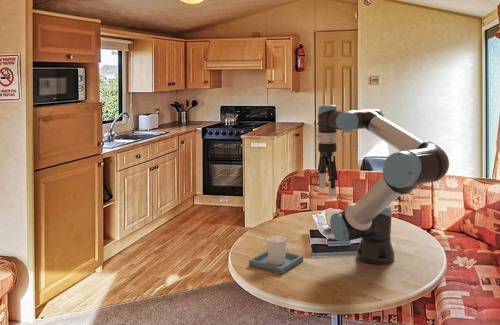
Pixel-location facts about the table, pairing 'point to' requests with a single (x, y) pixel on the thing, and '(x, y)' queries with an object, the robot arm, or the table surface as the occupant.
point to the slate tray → (263, 263)
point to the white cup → (276, 249)
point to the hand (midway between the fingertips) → (327, 191)
